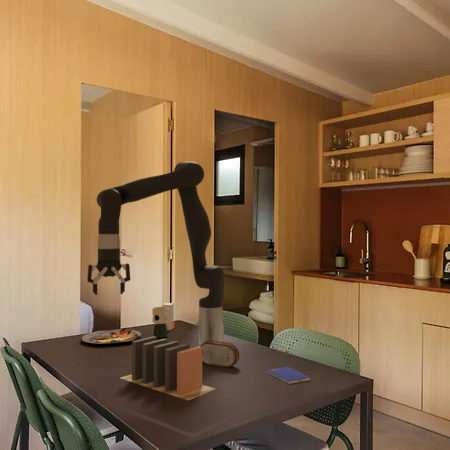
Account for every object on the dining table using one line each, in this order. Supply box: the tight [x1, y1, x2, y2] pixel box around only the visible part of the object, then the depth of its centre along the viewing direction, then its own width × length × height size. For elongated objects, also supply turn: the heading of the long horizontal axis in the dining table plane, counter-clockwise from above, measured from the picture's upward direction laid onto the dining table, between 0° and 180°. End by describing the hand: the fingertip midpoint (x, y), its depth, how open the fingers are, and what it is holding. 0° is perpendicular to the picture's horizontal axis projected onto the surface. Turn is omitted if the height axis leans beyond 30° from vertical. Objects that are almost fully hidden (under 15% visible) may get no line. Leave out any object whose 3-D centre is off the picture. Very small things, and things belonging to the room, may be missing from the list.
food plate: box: [81, 327, 142, 345], centre depth 203 cm, size 25×23×4 cm
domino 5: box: [177, 345, 203, 395], centre depth 138 cm, size 2×9×12 cm, turn 141°
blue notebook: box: [267, 366, 311, 385], centre depth 154 cm, size 2×8×12 cm
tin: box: [200, 340, 240, 368], centre depth 166 cm, size 15×3×8 cm, turn 65°
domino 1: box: [131, 335, 158, 381], centre depth 151 cm, size 2×9×12 cm, turn 141°
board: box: [120, 373, 216, 401], centre depth 145 cm, size 30×12×1 cm, turn 51°
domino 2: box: [142, 338, 168, 384], centre depth 148 cm, size 2×9×12 cm, turn 141°
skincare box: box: [161, 302, 175, 331], centre depth 224 cm, size 6×4×12 cm
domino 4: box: [165, 343, 191, 391], centre depth 141 cm, size 2×9×12 cm, turn 141°
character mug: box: [151, 306, 169, 339], centre depth 207 cm, size 11×7×13 cm, turn 39°
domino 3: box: [153, 340, 179, 388], centre depth 145 cm, size 2×9×12 cm, turn 141°
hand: (109, 294), depth 162 cm, fingers open, 8 cm apart
